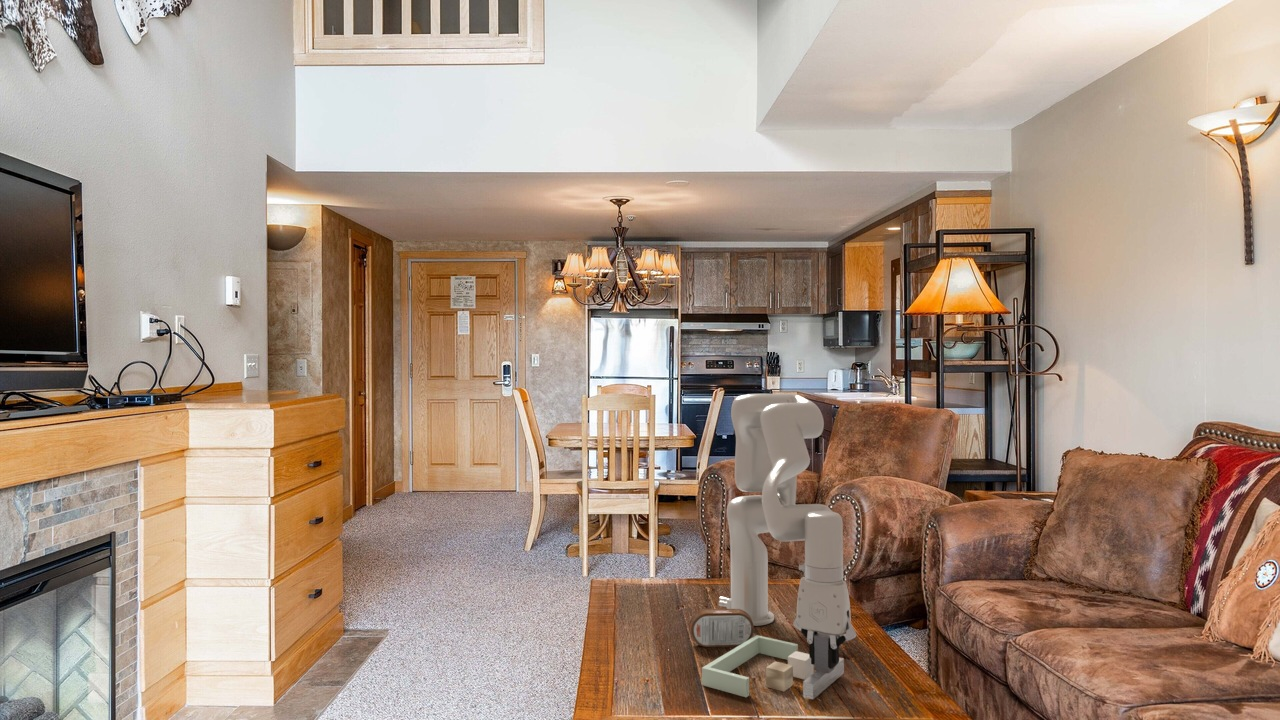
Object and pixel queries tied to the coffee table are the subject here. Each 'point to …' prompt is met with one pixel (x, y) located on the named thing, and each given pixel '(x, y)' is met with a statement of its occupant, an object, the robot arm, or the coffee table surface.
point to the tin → (721, 627)
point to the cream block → (801, 665)
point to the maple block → (779, 676)
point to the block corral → (720, 668)
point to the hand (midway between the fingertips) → (824, 663)
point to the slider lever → (821, 668)
